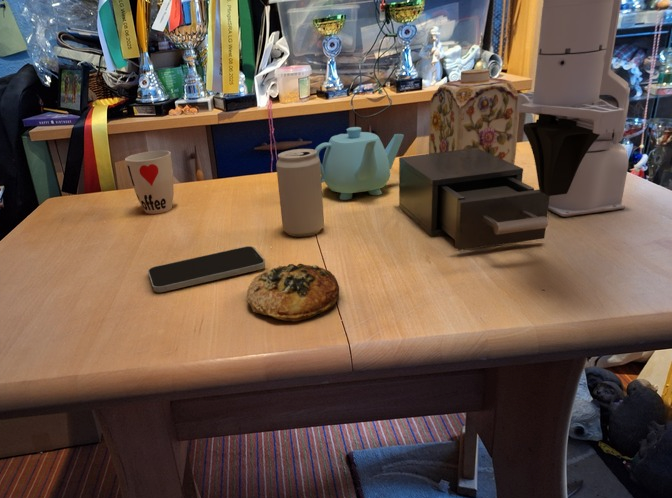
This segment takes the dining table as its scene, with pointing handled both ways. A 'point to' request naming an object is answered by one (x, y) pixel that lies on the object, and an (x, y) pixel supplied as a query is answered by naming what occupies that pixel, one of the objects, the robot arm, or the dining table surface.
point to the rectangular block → (486, 192)
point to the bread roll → (293, 292)
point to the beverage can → (300, 192)
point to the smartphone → (205, 268)
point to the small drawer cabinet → (444, 180)
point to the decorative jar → (475, 115)
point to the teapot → (357, 162)
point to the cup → (152, 180)
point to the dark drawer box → (492, 213)
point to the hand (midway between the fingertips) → (553, 192)
